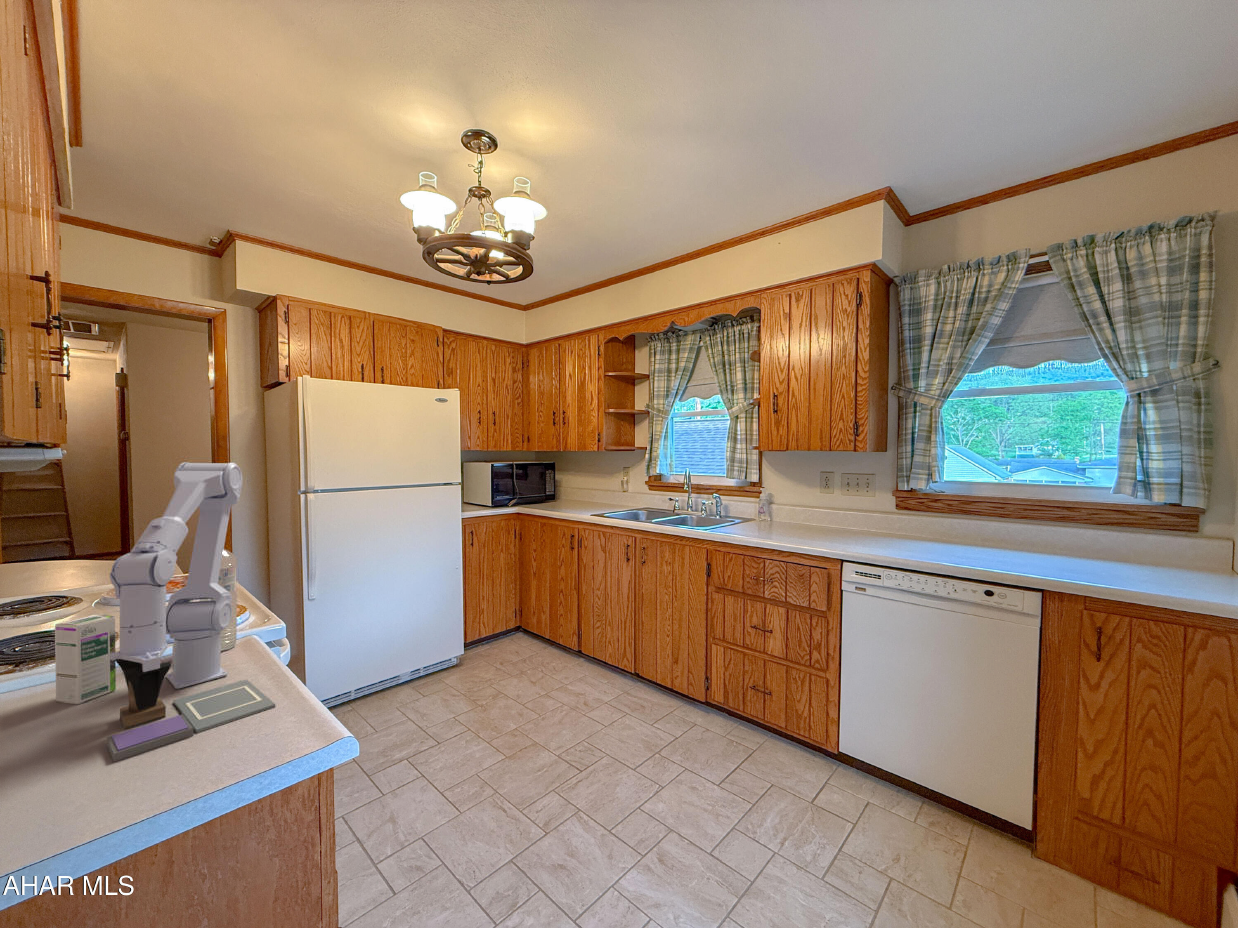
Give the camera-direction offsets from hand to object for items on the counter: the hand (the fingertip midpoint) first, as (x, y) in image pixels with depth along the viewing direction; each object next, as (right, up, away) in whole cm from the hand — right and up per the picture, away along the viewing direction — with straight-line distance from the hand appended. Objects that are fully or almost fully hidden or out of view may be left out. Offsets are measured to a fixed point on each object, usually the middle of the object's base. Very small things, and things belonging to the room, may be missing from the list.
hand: (142, 701), depth 84 cm
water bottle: (-13, -3, +31) cm, 34 cm away
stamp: (0, -3, 0) cm, 3 cm away
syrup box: (-18, -3, +8) cm, 20 cm away
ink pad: (+8, -3, -7) cm, 10 cm away
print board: (+10, -3, +5) cm, 12 cm away
